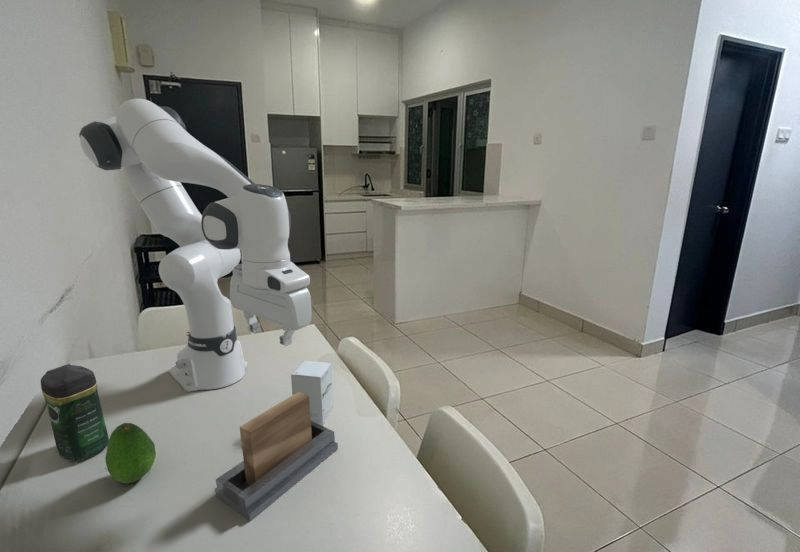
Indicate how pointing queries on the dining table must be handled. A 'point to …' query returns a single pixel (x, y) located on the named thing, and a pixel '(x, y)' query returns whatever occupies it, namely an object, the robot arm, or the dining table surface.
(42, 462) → the dining table surface
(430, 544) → the dining table surface
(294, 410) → the door panel
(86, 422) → the coffee jar
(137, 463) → the avocado
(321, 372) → the supplement box
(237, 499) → the tray
